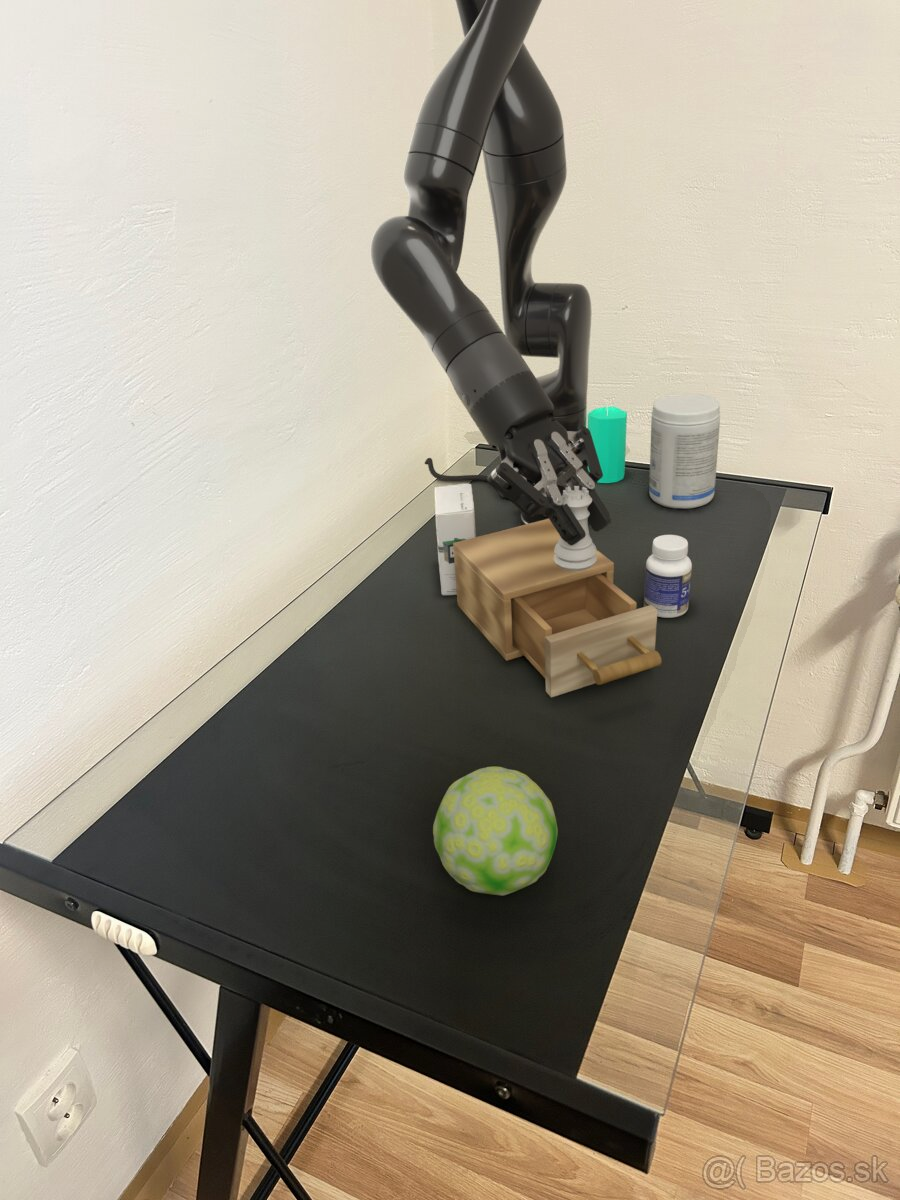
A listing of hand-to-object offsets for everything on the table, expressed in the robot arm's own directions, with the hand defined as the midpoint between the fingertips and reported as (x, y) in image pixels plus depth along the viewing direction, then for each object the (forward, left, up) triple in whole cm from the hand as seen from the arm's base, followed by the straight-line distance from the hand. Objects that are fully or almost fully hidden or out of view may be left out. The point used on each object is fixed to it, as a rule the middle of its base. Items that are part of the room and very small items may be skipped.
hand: (591, 533), depth 87 cm
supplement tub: (-32, +35, -17) cm, 50 cm away
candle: (-45, +30, -17) cm, 57 cm away
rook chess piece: (-2, -1, -4) cm, 5 cm away
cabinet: (-13, 0, -17) cm, 21 cm away
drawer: (-1, 0, -16) cm, 16 cm away
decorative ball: (+21, -21, -17) cm, 34 cm away
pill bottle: (-7, +15, -17) cm, 24 cm away
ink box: (-26, -4, -17) cm, 32 cm away
